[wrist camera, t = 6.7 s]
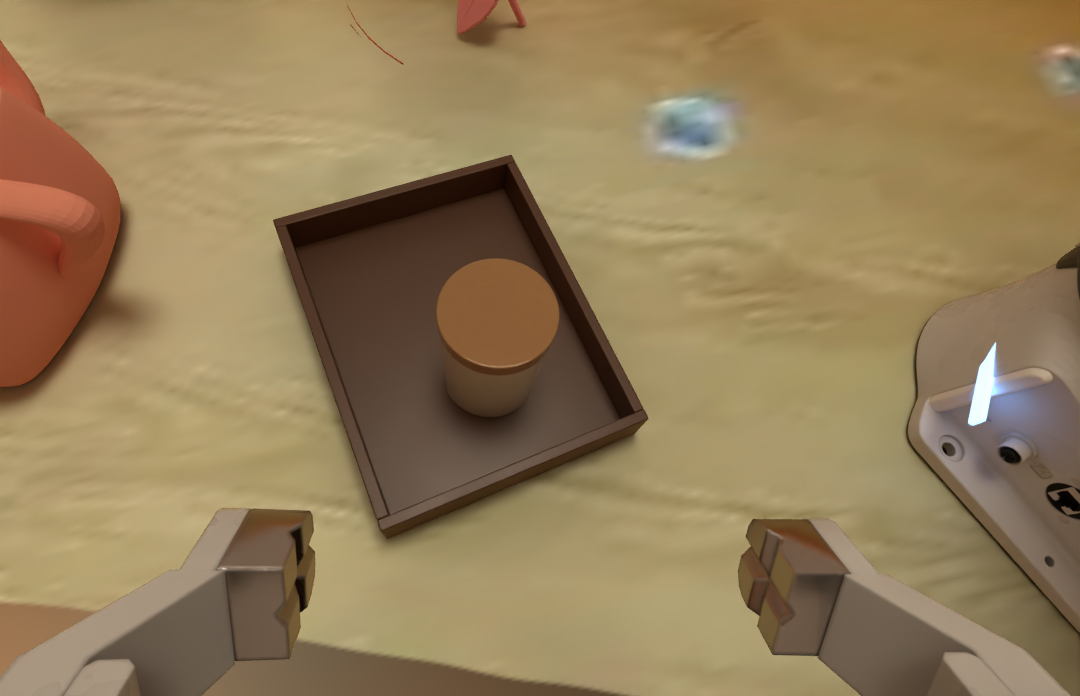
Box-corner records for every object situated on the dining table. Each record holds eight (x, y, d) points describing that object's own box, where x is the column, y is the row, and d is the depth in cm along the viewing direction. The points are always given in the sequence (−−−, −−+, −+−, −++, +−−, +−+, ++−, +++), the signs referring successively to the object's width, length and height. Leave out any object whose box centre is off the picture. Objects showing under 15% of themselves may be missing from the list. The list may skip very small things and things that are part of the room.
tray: (635, 433, 38) (649, 418, 35) (386, 539, 34) (380, 531, 31) (508, 183, 44) (511, 154, 41) (284, 247, 40) (272, 219, 37)
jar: (555, 398, 37) (580, 343, 30) (461, 435, 36) (463, 386, 29) (515, 314, 39) (529, 243, 32) (424, 345, 38) (417, 278, 30)
